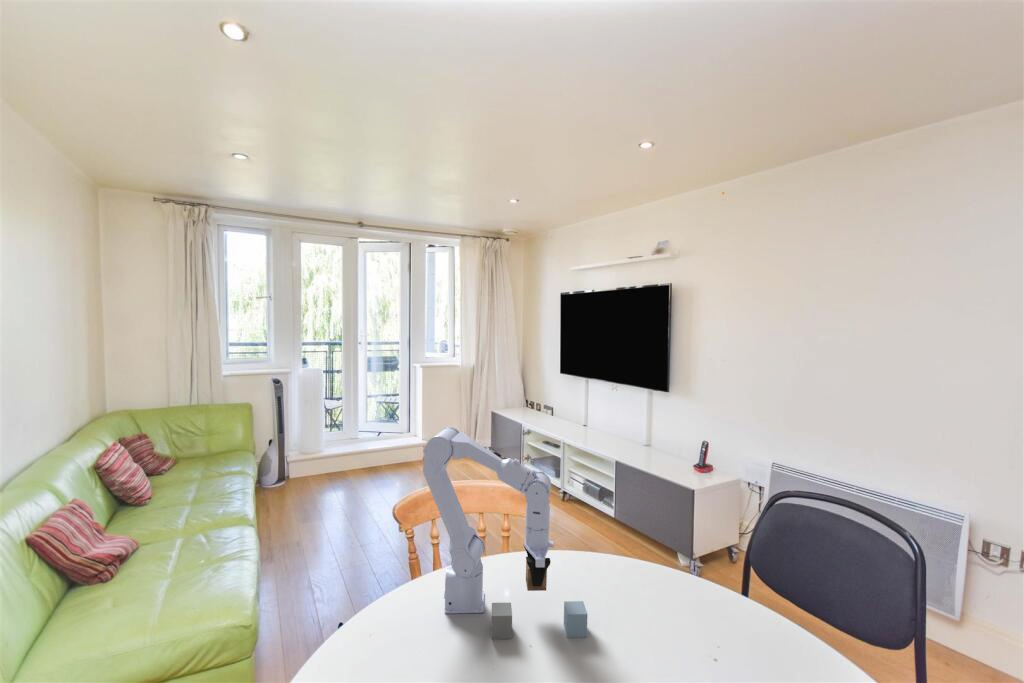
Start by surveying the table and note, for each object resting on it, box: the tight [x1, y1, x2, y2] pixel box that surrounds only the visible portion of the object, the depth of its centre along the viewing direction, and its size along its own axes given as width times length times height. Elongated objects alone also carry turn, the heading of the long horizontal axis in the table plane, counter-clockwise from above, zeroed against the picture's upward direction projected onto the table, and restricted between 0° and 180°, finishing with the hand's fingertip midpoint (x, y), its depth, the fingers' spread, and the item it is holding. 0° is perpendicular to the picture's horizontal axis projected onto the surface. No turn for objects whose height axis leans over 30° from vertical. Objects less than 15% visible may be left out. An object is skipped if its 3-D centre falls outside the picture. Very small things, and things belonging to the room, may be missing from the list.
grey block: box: [490, 602, 513, 640], centre depth 103 cm, size 4×4×6 cm
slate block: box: [563, 600, 588, 639], centre depth 104 cm, size 4×4×6 cm
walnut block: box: [525, 560, 548, 592], centre depth 109 cm, size 4×4×6 cm
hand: (535, 579), depth 109 cm, fingers closed on walnut block, 4 cm apart
